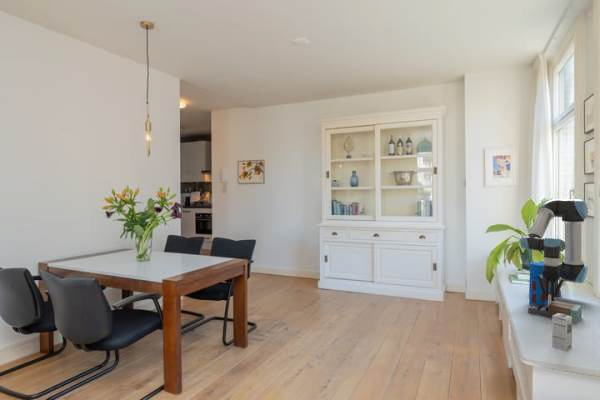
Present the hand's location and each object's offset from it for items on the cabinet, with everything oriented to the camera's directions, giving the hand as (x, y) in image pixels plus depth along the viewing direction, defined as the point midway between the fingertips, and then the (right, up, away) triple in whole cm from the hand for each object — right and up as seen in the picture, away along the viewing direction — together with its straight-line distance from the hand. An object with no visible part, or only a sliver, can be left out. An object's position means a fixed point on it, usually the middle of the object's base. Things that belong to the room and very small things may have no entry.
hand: (549, 306), depth 207 cm
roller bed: (+1, -5, 0) cm, 5 cm away
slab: (+4, -2, -4) cm, 6 cm away
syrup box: (-24, -6, -42) cm, 49 cm away
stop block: (+8, -5, -9) cm, 13 cm away
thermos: (+6, -4, +19) cm, 20 cm away
